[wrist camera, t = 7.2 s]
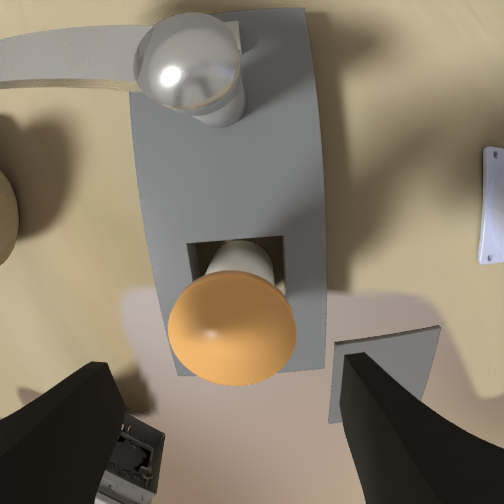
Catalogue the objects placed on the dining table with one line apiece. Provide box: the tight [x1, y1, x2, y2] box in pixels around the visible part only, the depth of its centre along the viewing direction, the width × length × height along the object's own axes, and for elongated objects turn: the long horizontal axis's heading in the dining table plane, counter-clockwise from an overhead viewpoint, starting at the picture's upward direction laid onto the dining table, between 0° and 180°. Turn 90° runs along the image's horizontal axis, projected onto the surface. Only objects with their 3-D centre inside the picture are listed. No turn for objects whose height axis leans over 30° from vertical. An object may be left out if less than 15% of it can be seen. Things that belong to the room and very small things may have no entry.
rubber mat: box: [328, 325, 441, 424], centre depth 20 cm, size 8×8×1 cm
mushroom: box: [168, 240, 296, 386], centre depth 14 cm, size 5×5×7 cm
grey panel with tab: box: [129, 8, 327, 376], centre depth 13 cm, size 9×20×7 cm, turn 5°
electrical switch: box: [95, 413, 165, 504], centre depth 18 cm, size 9×5×9 cm, turn 55°
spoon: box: [0, 12, 242, 116], centre depth 7 cm, size 3×12×2 cm, turn 76°
